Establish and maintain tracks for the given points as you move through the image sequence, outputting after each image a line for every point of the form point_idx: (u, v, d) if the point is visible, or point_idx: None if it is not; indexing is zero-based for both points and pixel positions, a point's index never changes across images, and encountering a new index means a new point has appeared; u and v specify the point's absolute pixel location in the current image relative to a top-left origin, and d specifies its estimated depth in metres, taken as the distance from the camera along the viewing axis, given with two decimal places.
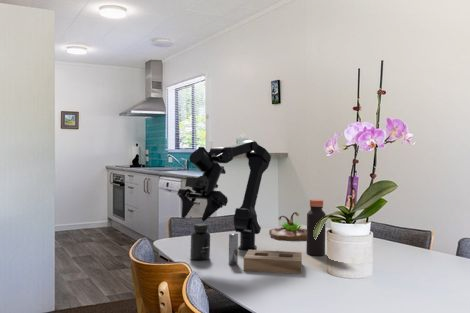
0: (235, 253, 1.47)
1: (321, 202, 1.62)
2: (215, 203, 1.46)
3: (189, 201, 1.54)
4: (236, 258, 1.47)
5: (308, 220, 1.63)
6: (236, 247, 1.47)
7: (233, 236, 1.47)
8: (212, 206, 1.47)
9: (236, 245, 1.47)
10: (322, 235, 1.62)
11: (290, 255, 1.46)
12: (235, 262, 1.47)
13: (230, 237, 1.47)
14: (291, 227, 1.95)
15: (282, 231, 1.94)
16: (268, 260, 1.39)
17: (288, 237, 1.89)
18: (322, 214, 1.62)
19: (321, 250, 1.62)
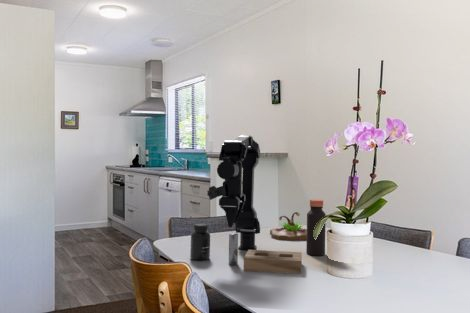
0: (235, 253, 1.47)
1: (321, 202, 1.62)
2: (228, 208, 1.41)
3: None
4: (236, 258, 1.47)
5: (308, 220, 1.63)
6: (236, 247, 1.47)
7: (233, 236, 1.47)
8: (231, 210, 1.42)
9: (236, 245, 1.47)
10: (322, 235, 1.62)
11: (290, 255, 1.46)
12: (235, 262, 1.47)
13: (230, 237, 1.47)
14: (292, 227, 1.95)
15: (283, 231, 1.94)
16: (268, 260, 1.39)
17: (289, 237, 1.89)
18: (322, 214, 1.62)
19: (321, 250, 1.62)
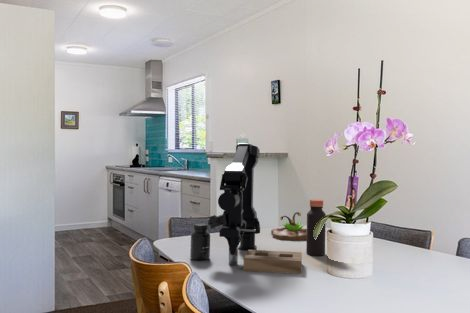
0: (235, 253, 1.47)
1: (321, 202, 1.62)
2: None
3: None
4: (236, 258, 1.47)
5: (308, 220, 1.63)
6: None
7: None
8: (233, 238, 1.45)
9: None
10: (322, 235, 1.62)
11: (290, 255, 1.46)
12: (235, 262, 1.47)
13: None
14: (293, 227, 1.95)
15: (284, 231, 1.94)
16: (268, 260, 1.39)
17: (290, 237, 1.89)
18: (322, 214, 1.62)
19: (321, 250, 1.62)
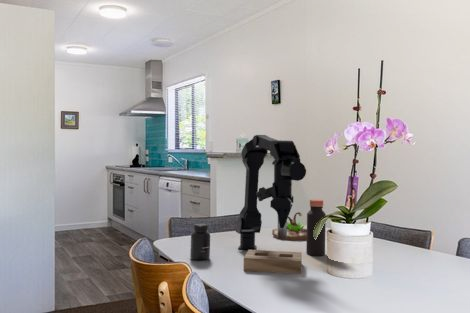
0: (284, 226, 1.43)
1: (321, 202, 1.62)
2: (281, 208, 1.40)
3: None
4: (285, 231, 1.43)
5: (308, 220, 1.63)
6: None
7: None
8: (283, 211, 1.41)
9: None
10: (322, 235, 1.62)
11: (290, 255, 1.46)
12: (285, 236, 1.43)
13: None
14: (294, 227, 1.95)
15: None
16: (268, 260, 1.39)
17: (290, 237, 1.89)
18: (322, 214, 1.62)
19: (321, 250, 1.62)
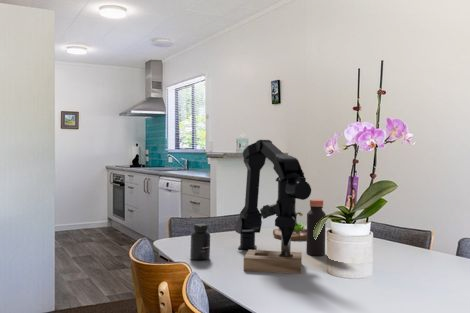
0: (288, 244, 1.43)
1: (321, 202, 1.62)
2: None
3: None
4: (289, 249, 1.44)
5: (308, 220, 1.63)
6: None
7: None
8: (287, 229, 1.41)
9: None
10: (322, 235, 1.62)
11: (290, 255, 1.46)
12: (288, 253, 1.43)
13: None
14: None
15: None
16: (268, 260, 1.39)
17: (291, 237, 1.89)
18: (322, 214, 1.62)
19: (321, 250, 1.62)
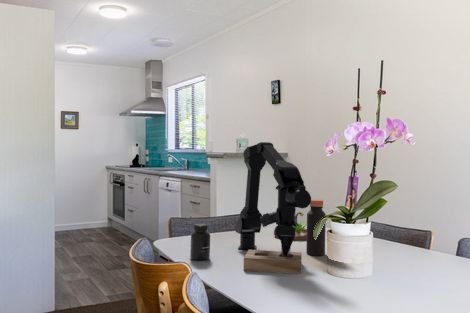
0: (288, 256, 1.43)
1: (321, 202, 1.62)
2: (284, 236, 1.38)
3: None
4: None
5: (308, 220, 1.63)
6: (289, 250, 1.43)
7: None
8: (286, 238, 1.39)
9: None
10: (322, 235, 1.62)
11: (290, 255, 1.46)
12: None
13: None
14: (295, 227, 1.95)
15: None
16: (268, 260, 1.39)
17: None
18: (322, 214, 1.62)
19: (321, 250, 1.62)
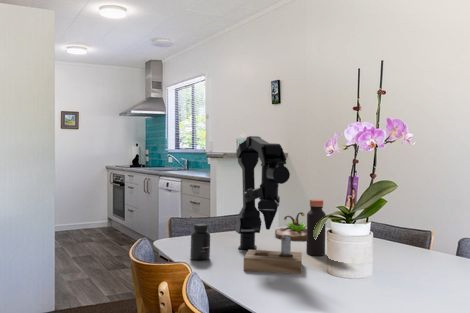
0: (288, 256, 1.43)
1: (321, 202, 1.62)
2: None
3: None
4: None
5: (308, 220, 1.63)
6: (289, 250, 1.43)
7: (286, 239, 1.43)
8: (269, 213, 1.44)
9: (289, 248, 1.43)
10: (322, 235, 1.62)
11: (290, 255, 1.46)
12: None
13: (283, 240, 1.43)
14: (296, 227, 1.95)
15: (287, 231, 1.94)
16: (268, 260, 1.39)
17: (292, 237, 1.89)
18: (322, 214, 1.62)
19: (321, 250, 1.62)
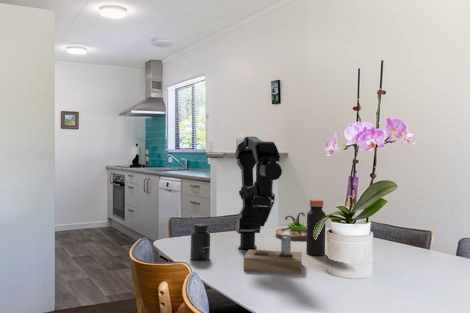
0: (288, 256, 1.43)
1: (321, 202, 1.62)
2: (261, 207, 1.44)
3: None
4: None
5: (308, 220, 1.63)
6: (289, 250, 1.43)
7: (286, 239, 1.43)
8: (263, 210, 1.46)
9: (289, 248, 1.43)
10: (322, 235, 1.62)
11: (290, 255, 1.46)
12: None
13: (283, 240, 1.43)
14: (296, 227, 1.95)
15: (287, 231, 1.94)
16: (268, 260, 1.39)
17: (292, 237, 1.89)
18: (322, 214, 1.62)
19: (321, 250, 1.62)
